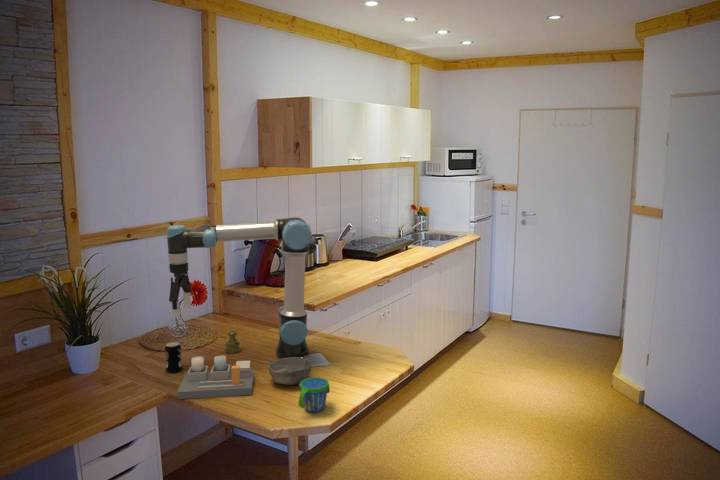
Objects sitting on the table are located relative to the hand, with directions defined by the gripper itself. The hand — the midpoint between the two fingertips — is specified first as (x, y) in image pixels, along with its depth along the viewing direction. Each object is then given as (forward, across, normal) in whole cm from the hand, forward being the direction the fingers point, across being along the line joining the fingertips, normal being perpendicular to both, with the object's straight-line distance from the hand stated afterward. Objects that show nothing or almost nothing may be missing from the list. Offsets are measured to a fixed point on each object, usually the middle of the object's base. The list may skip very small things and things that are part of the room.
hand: (181, 311), depth 242 cm
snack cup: (+27, +34, +59) cm, 74 cm away
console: (+27, +16, +18) cm, 36 cm away
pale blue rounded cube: (+21, +12, +19) cm, 30 cm away
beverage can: (+27, -2, -6) cm, 28 cm away
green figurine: (+27, -26, +14) cm, 40 cm away
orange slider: (+24, +19, +27) cm, 41 cm away
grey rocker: (+20, +10, +28) cm, 36 cm away
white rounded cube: (+21, +13, +10) cm, 26 cm away
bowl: (+27, +10, +47) cm, 55 cm away
